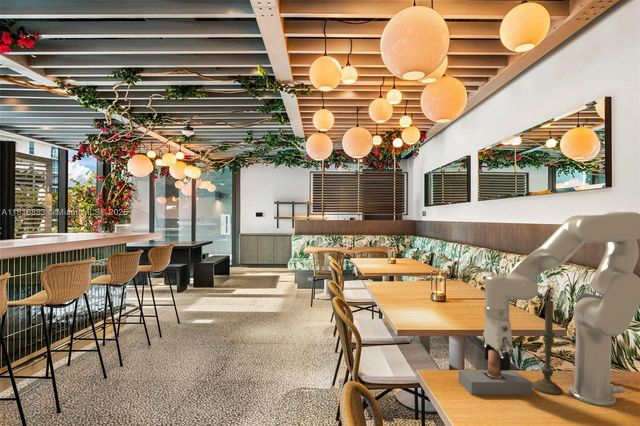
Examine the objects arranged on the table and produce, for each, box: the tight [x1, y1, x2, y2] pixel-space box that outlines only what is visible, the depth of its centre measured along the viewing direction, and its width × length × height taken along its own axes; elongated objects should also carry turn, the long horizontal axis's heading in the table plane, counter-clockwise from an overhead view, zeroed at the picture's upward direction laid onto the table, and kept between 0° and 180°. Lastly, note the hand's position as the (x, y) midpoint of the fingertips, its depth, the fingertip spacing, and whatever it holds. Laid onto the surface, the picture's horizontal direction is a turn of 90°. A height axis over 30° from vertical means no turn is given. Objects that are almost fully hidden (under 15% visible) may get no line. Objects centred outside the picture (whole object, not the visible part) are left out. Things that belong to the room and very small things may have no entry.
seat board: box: [457, 369, 533, 396], centre depth 133 cm, size 20×10×4 cm, turn 94°
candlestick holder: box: [532, 299, 563, 396], centre depth 134 cm, size 9×9×30 cm
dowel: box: [487, 349, 501, 379], centre depth 133 cm, size 4×4×12 cm
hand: (496, 364), depth 133 cm, fingers open, 9 cm apart
